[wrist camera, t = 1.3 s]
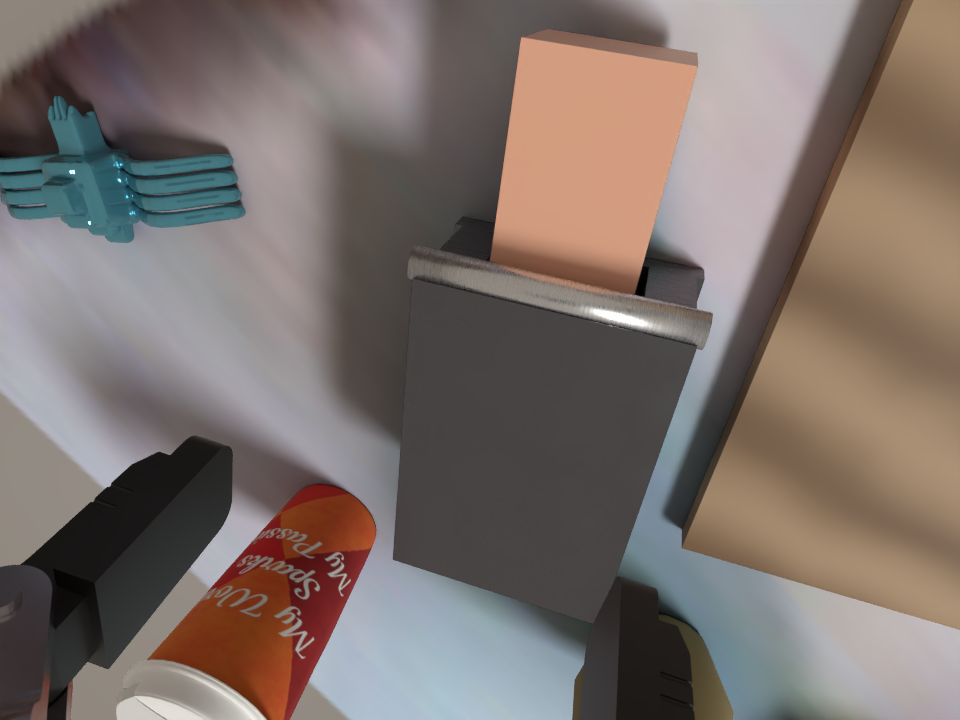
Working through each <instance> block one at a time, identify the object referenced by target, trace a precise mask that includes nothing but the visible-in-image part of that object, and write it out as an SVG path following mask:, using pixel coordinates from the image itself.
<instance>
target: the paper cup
mask: <svg viewBox="0 0 960 720" xmlns="http://www.w3.org/2000/svg"><path fill="white" fill-rule="evenodd" d="M375 537H376V525H375V522H374V519H373V517H372V515H371V513H370V512H369V510H368V509H367V508H366V507H365V505H364V504H363V503H362V502H361V501H359V500H358V499H357V498H356V497H354V496H353V495H352V494H350V493H348V492H347V491H345V490H342V489H340V488H338V487H335V486H331V485H326V484H314V485H309V486H307V487H305V488H303V489H301V490H300V491H299V492H298V493H297V494H296V495H295V496H294V497H293V498H292V499H291V500H290V501H289V502H288V503H287V504H286V505H285V506H284V507H283V508H282V509H281V510H280V512H279V513H278V514H277V515H276V516H275V517H274V518H273V519H272V520H271V522H270V523H269V524H268V525H267V526H266V527H265V528H264V529H263V530H262V531H261V533H260V534H259V535H258V536H257V537H256V538H255V539H254V540H253V541H252V543H251V544H250V545H249V546H248V547H247V548H246V549H245V550H244V552H243V553H242V554H241V555H240V556H239V557H238V558H237V559H236V560H235V562H234V563H233V564H232V565H231V566H230V567H229V568H228V569H227V571H226V572H225V573H224V574H223V575H222V576H221V577H220V578H219V580H218V581H217V582H216V583H215V584H214V585H213V586H212V587H211V589H210V590H209V591H208V592H207V593H206V594H205V595H204V596H203V598H202V599H201V600H200V601H199V602H198V603H197V604H196V606H195V607H194V608H193V609H192V610H191V611H190V612H189V613H188V614H187V616H186V617H185V618H184V619H183V620H182V621H181V622H180V623H179V625H178V626H177V627H176V628H175V629H174V630H173V631H172V633H171V634H170V635H169V636H168V637H167V638H166V639H165V640H164V641H163V642H162V644H161V645H160V646H159V647H158V648H157V649H156V650H155V651H154V653H153V654H152V655H151V656H150V657H149V658H148V659H147V660H144V661H141V662H138V663H136V664H135V665H133V666H132V667H131V668H130V669H129V671H128V673H127V674H126V675H125V676H124V677H123V685H124V688H123V689H122V690H121V691H120V692H119V693H118V696H117V703H118V706H117V708H116V715H117V719H118V720H290V718H291V716H292V714H293V712H294V710H295V708H296V706H297V703H298V701H299V699H300V697H301V695H302V693H303V691H304V689H305V686H306V685H307V683H308V681H309V679H310V677H311V674H312V672H313V670H314V668H315V666H316V664H317V662H318V660H319V658H320V656H321V655H322V653H323V651H324V649H325V647H326V645H327V643H328V641H329V639H330V636H331V634H332V632H333V630H334V628H335V626H336V624H337V621H338V619H339V617H340V615H341V613H342V611H343V608H344V606H345V604H346V602H347V600H348V598H349V596H350V594H351V591H352V589H353V587H354V585H355V583H356V581H357V579H358V577H359V575H360V572H361V570H362V568H363V566H364V564H365V562H366V559H367V557H368V555H369V553H370V551H371V548H372V546H373V543H374V541H375Z"/></svg>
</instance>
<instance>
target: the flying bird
mask: <svg viewBox="0 0 960 720" xmlns="http://www.w3.org/2000/svg"><path fill="white" fill-rule="evenodd" d="M48 119H49V122H50V125H51V127H52V130H53V133H54V136H55V138H56V141H57V144H58V149H59V152H58V153H53V154H43V155H34V156H24V157H11V158H0V194H1V196H2V197H1V201H2V203H3V204H5V205H7V209H8V211H9V213H10V215H11V216H12V217H13V218H16V219H25V220H30V219H43V218H51V217H60V218H61V220H62V221H63V222H64V223H66V224H68V226H69V227H71V228H82V229H88V230H89V231H90V232H91V233H92V234H93V235H100V236H105V238H106V239H107V240H108V241H110V242H117V243H129V242H131V241H132V240H133V239H134V231H133V225H132V224H134V223H137V222H139V221H140V220H141V221H142V222H144V223H145V224H146V225H149V226H151V227H159V228H167V227H180V226H188V225H195V224H202V223H208V222H215V221H222V220H230V219H237V218H241V217H243V216H244V215H245V213H246V211H245V208H244V207H243V206H241V205H222V206H215V207H208V208H201V209H194V210H186V211H177V212H153V211H170V210H179V209H187V208H194V207H201V206H208V205H215V204H223V203H231V202H236V201H238V200H240V199H241V197H242V194H241V192H240V191H239V190H238V189H236V188H219V189H211V190H204V191H196V192H189V193H181V194H171V195H148V194H166V193H175V192H184V191H191V190H198V189H206V188H213V187H222V186H229V185H233V184H234V183H236V182H237V180H238V176H237V174H236V173H235V172H233V171H229V170H220V171H210V172H202V173H195V174H187V175H179V176H169V177H154V178H149V177H141V176H154V175H166V174H176V173H184V172H191V171H199V170H207V169H216V168H224V167H228V166H230V165H232V164H233V158H232V157H231V156H230V155H228V154H223V153H220V154H207V155H198V156H190V157H182V158H173V159H163V160H148V161H144V160H135V159H131V156H130V154H129V153H128V152H127V151H126V150H124V149H115V148H110V147H109V146H108V145H107V144H106V142H105V140H104V138H103V135H102V132H101V129H100V126H99V123H98V120H97V117H96V114H95V112H94V111H89V112H87V113H86V114H85V115H81V113H80V112H79V111H78V110H77V109H76V108H75V107H74V106H72V105H70V106H68V105H67V103H66V102H65V100H64V99H63V98H62V97H61V96H58V97H57V96H55V97H54V106H52V105H51V106H49V109H48ZM40 169H41V170H42V172H33V173H22V174H7V173H6V172H19V171H30V170H40ZM138 175H140V176H138ZM33 187H41V189H30V190H13V189H21V188H33ZM39 203H46V205H43V206H30V207H26V206H19V205H27V204H39Z"/></svg>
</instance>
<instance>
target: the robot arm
mask: <svg viewBox="0 0 960 720" xmlns="http://www.w3.org/2000/svg"><path fill="white" fill-rule="evenodd" d="M232 457H233V455H232V449H231V448H230V447H229V446H226V445H223V444H220V443H217V442H214V441H211V440H208V439H205V438H201V437H198V436H191V437H189V438H188V439H187V440H186V441H184V442H183V443H182V444H181V445H180V446H179V447H178V448H177V449H176V450H175V451H174V452H173V453H172V454H171V455H167V454H164V453H161V452H157V453H155V454H153V455H151V456H149V457H147V458H145V459H143V460H140V461H138V462H136V463H134V464H132V465H131V466H130V467H129V468H128V469H126V470H125V471H124V472H123V473H122V474H121V475H120V476H119V477H118V478H116V479H115V480H114V481H113V482H112V484H111V486H110V487H107V488H105V489H104V490H103V491H102V492H101V493H100V494H99V495H98V496H97V497H96V498H95V500H94V502H93V503H92V502H90V503H89V504H88V505H87V506H86V507H85V508H84V509H83V510H81V511H80V512H79V513H78V514H77V515H76V516H75V517H74V518H72V519H71V520H70V521H69V522H68V523H67V524H66V525H65V526H64V527H63V528H62V529H60V530H59V531H58V532H57V533H56V534H55V535H54V536H53V537H52V538H50V539H49V540H48V541H47V542H46V543H45V544H44V545H43V546H42V547H41V548H39V549H38V550H37V551H36V552H35V553H34V554H33V555H32V556H31V557H29V558H28V559H27V560H26V561H25V562H23V563H22V564H20V565H8V566H3V567H0V720H71V704H72V689H73V683H72V679H73V678H74V677H75V676H76V675H77V673H78V672H79V671H80V670H81V669H82V667H83V666H84V665H85V664H86V663H87V662H90V663H93V664H95V665H98V666H101V667H103V668H106V669H109V668H110V667H111V665H112V664H113V663H114V662H115V660H116V659H117V658H118V657H119V655H120V654H121V653H122V652H123V650H124V649H125V648H126V646H127V645H128V644H129V643H130V642H131V640H132V639H133V638H134V637H135V635H136V634H137V633H138V632H139V630H140V629H141V628H142V626H143V625H144V624H145V623H146V622H147V620H148V619H149V618H150V617H151V615H152V614H153V613H154V612H155V610H156V609H157V608H158V607H159V605H160V604H161V603H162V602H163V600H164V599H165V598H166V597H167V595H168V594H169V593H170V592H171V590H172V589H173V588H174V587H175V585H176V584H177V583H178V582H179V580H180V579H181V578H182V577H183V575H184V574H185V573H186V572H187V570H188V569H189V568H190V567H191V565H192V564H193V563H194V562H195V560H196V559H197V558H198V557H199V555H200V554H201V553H202V552H203V550H204V549H205V548H206V547H207V545H208V544H209V543H210V542H211V540H212V539H213V538H214V537H215V535H216V534H217V533H218V532H219V530H220V529H221V527H222V526H223V524H224V522H225V521H226V518H227V516H228V514H229V511H230V508H231V503H232ZM691 684H692V671H691V657H690V652H689V650H688V648H687V646H686V643H685V641H684V639H683V637H682V635H681V632H680V630H679V628H678V626H676V625H673V624H670V623H667V622H664V621H661V620H659V607H658V592H657V590H656V589H655V588H652V587H649V586H646V585H643V584H640V583H637V582H634V581H631V580H628V579H625V578H622V577H619V576H618V577H617V578H616V579H615V581H614V583H613V585H612V587H611V589H610V591H609V593H608V595H607V597H606V599H605V601H604V603H603V605H602V607H601V609H600V611H599V613H598V615H597V617H596V619H595V621H594V623H593V626H592V628H591V631H590V634H589V638H588V642H587V647H586V653H585V661H584V673H583V684H582V695H581V706H580V717H579V720H695V714H694V711H693V706H694V700H693V688H692V687H691Z"/></svg>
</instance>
